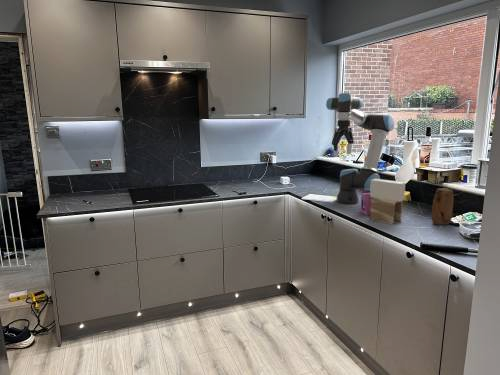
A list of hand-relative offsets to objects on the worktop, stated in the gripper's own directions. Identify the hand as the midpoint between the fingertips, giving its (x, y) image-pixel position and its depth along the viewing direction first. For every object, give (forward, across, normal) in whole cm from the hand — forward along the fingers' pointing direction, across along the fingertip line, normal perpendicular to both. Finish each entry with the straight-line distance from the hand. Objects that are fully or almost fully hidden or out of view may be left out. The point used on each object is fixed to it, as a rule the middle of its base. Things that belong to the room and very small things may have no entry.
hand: (342, 155), depth 228 cm
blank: (+24, +7, -27) cm, 36 cm away
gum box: (+37, +20, -16) cm, 45 cm away
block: (+37, +23, -52) cm, 68 cm away
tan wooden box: (+37, +7, -27) cm, 46 cm away
